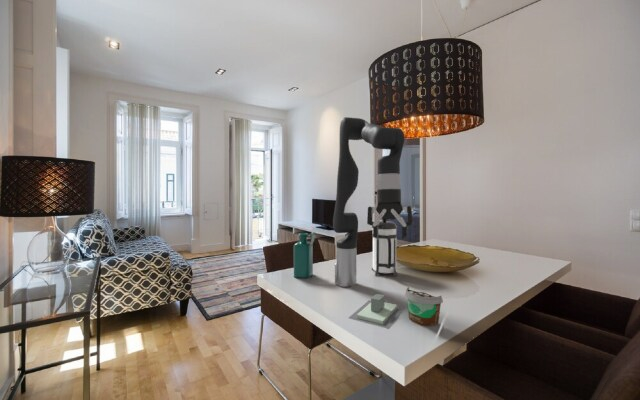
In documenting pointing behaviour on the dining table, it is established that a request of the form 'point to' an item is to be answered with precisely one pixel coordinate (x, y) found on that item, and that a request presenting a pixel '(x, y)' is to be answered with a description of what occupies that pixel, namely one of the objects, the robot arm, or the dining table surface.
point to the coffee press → (385, 248)
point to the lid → (377, 310)
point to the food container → (423, 307)
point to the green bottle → (303, 256)
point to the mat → (385, 325)
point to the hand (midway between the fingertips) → (390, 238)
